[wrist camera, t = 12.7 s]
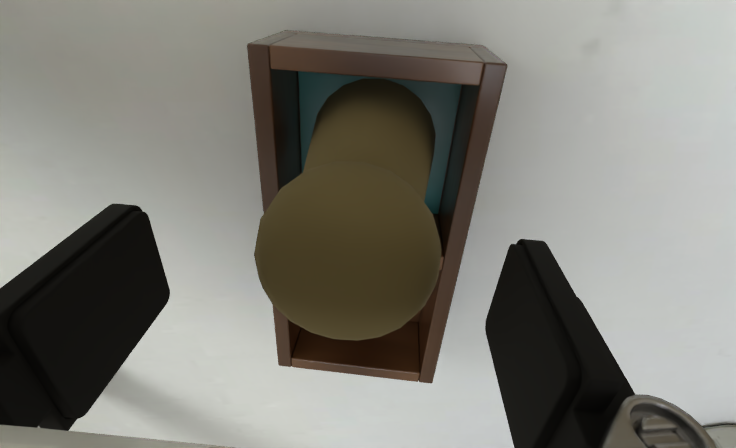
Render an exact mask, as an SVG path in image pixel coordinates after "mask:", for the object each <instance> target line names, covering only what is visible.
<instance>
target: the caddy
mask: <svg viewBox="0 0 736 448" xmlns="http://www.w3.org/2000/svg"><path fill="white" fill-rule="evenodd" d="M247 49H248V59H249V69H250V79H251V89H252V99H253V110H254V120H255V130H256V140H257V150H258V161H259V171H260V181H261V191H262V201H263V211H264V213H265V212H266V210H267V209H268V207H269V206H270V204H271V202H272V201H273V199H274V198H275V196H276V195H277V194H278V192H279V191H280V189H281V188H282V187H284V186H285V185H286V184H288V183H289V182H291V181H292V180H293V179H295V178H296V177H298V176H299V175H300V174H302V173H303V170H304V166H305V162H306V158H307V154H308V150H309V146H310V142H311V138H312V134H313V130H314V126H315V122H316V118H317V114H318V112H319V110H320V109H321V107H322V106H323V104H324V103H325V101H326V100H327V98H328V97H329V96H330V95H332V94H333V93H334V92H335V91H337V90H338V89H339V88H341V87H342V86H343V85H345V84H348V83H351V82H354V81H357V80H360V79H386V80H389V81H392V82H395V83H398V84H401V85H403V86H405V87H406V88H407V89H409V90H410V91H411V92H413V93H414V94H415V95H416V96H418V97H419V98H420V99H421V101H422V102H423V104H424V105H425V107H426V108H427V110H428V111H429V113H430V114H431V117H432V121H433V125H434V129H435V133H436V137H435V149H434V156H433V161H432V166H431V171H430V176H429V181H428V186H427V191H426V196H425V200H424V203H425V204H426V205H427V207H428V208H429V210H430V211H431V213H432V214H433V217H434V220H435V224H436V227H437V231H438V234H439V238H440V244H441V259H440V268H439V275H438V279H437V282H436V286H435V288H434V290H433V291H432V293H431V295H430V297H429V299H428V301H427V302H426V304H425V306H424V307H423V308H422V309H421V310H420V311H419V312H418V313H417V314H416V315H415V316H414V317H412V318H411V319H410V320H409V321H408V322H407V323H406V324H404V325H403V326H402V327H401V328H399V329H397V330H395V331H392V332H390V333H388V334H386V335H383V336H381V337H377V338H370V339H364V340H358V341H356V340H340V339H332V338H328V337H325V336H321V335H318V334H314V333H311V332H309V331H307V330H305V329H304V328H302V327H300V326H298V325H296V324H294V323H293V322H291V321H290V320H288V319H287V318H286V317H285V316H284V315H283V314H282V313H281V312H280V311H279V310H278V309H276V308H275V307H274V306H273V313H274V323H275V333H276V344H277V354H278V364H279V365H280V366H288V367H291V366H292V367H297V368H305V369H314V370H322V371H331V372H339V373H348V374H356V375H365V376H373V377H382V378H390V379H399V380H407V381H416V382H418V381H419V382H424V383H432V382H433V377H434V373H435V369H436V365H437V361H438V356H439V352H440V348H441V344H442V340H443V335H444V331H445V327H446V323H447V318H448V314H449V310H450V306H451V302H452V297H453V293H454V289H455V285H456V281H457V276H458V272H459V268H460V264H461V259H462V255H463V251H464V247H465V243H466V238H467V234H468V230H469V226H470V222H471V217H472V213H473V209H474V205H475V201H476V196H477V192H478V188H479V184H480V179H481V175H482V171H483V167H484V163H485V158H486V154H487V150H488V146H489V142H490V137H491V133H492V129H493V125H494V120H495V116H496V112H497V108H498V104H499V99H500V95H501V91H502V87H503V83H504V78H505V74H506V70H507V64H506V63H505V62H504V61H502V60H501V59H500V58H498V57H497V56H496V55H494V54H493V53H492V52H491V51H489V50H488V49H487V48H486V47H485V46H483V45H472V44H459V43H446V42H433V41H420V40H407V39H394V38H381V37H368V36H355V35H341V34H328V33H315V32H302V31H289V30H285V31H282V32H280V33H277V34H275V35H272V36H269V37H266V38H263V39H260V40H257V41H254V42H251V43H248V45H247Z"/></svg>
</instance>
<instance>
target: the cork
mask: <svg viewBox="0 0 736 448" xmlns="http://www.w3.org/2000/svg"><path fill="white" fill-rule="evenodd" d="M435 137H436V133H435V129H434V125H433V121H432V117H431V114H430V113H429V111H428V110H427V108H426V107H425V105H424V104H423V102H422V101H421V99H420V98H419V97H418V96H416V95H415V94H414V93H413V92H411V91H410V90H409V89H407V88H406V87H405V86H403V85H401V84H398V83H395V82H392V81H389V80H386V79H360V80H357V81H354V82H351V83H348V84H345V85H343V86H342V87H341V88H339V89H338V90H337V91H335V92H334V93H333V94H332V95H330V96H329V97H328V98H327V100H326V101H325V103H324V104H323V106H322V107H321V109H320V110H319V112H318V114H317V118H316V122H315V126H314V130H313V134H312V138H311V142H310V146H309V150H308V154H307V158H306V162H305V166H304V170H303V173H302V174H300V175H299V176H298V177H296V178H295V179H293V180H292V181H291V182H289V183H288V184H286V185H285V186H284V187H282V188H281V189H280V191H279V192H278V194H277V195H276V196H275V198H274V199H273V201H272V202H271V204H270V206H269V207H268V209H267V210H266V212H265V213H264V215H263V216H262V218H261V219H260V225H259V230H258V235H257V241H256V247H255V253H254V256H255V261H256V266H257V271H258V276H259V279H260V282H261V284H262V287H263V289H264V291H265V292H266V294H267V296H268V297H269V299H270V301H271V302H272V304H273V306H274V307H275V308H276V309H278V310H279V311H280V312H281V313H282V314H283V315H284V316H285V317H286V318H287V319H288V320H290V321H291V322H293V323H294V324H296V325H298V326H300V327H302V328H304V329H305V330H307V331H309V332H311V333H314V334H318V335H321V336H325V337H328V338H332V339H340V340H356V341H358V340H364V339H370V338H377V337H381V336H383V335H386V334H388V333H390V332H392V331H395V330H397V329H399V328H401V327H402V326H403V325H404V324H406V323H407V322H408V321H409V320H410V319H411V318H412V317H414V316H415V315H416V314H417V313H418V312H419V311H420V310H421V309H422V308H423V307H424V306H425V304H426V302H427V301H428V299H429V297H430V295H431V293H432V291H433V290H434V288H435V286H436V282H437V279H438V275H439V268H440V259H441V244H440V238H439V234H438V231H437V227H436V224H435V220H434V217H433V214H432V213H431V211H430V210H429V208H428V207H427V205H426V204H425V203H424V200H425V196H426V191H427V186H428V181H429V176H430V171H431V166H432V161H433V156H434V149H435Z"/></svg>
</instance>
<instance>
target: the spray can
mask: <svg viewBox="0 0 736 448" xmlns="http://www.w3.org/2000/svg"><path fill="white" fill-rule="evenodd" d="M704 429H705V430H706V432H707V433H708V434H709V435H710V437H711V438H712V439H713V441H714V443H715V445H716V447H717V448H736V425H721V426H714V427H705V428H704Z"/></svg>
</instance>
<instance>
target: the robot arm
mask: <svg viewBox="0 0 736 448" xmlns="http://www.w3.org/2000/svg"><path fill="white" fill-rule="evenodd" d="M169 296H170V290H169V286H168V283H167V279H166V276H165V272H164V269H163V265H162V262H161V258H160V255H159V252H158V248H157V245H156V241H155V238H154V234H153V231H152V227H151V224H150V221H149V217H148V215H147V214H146V213H145V212H142V210H141V208H140V207H138V206H136V205H124V204H111V205H109V206H108V207H107V208H105V209H104V210H103V211H101V212H100V213H99V214H97V215H96V216H95V217H93V218H92V219H91V220H89V221H88V222H87V223H86V224H84V225H83V226H82V227H80V228H79V229H78V230H76V231H75V232H74V233H72V234H71V235H70V236H68V237H67V238H66V239H65V240H63V241H62V242H61V243H59V244H58V245H57V246H55V247H54V248H53V249H51V250H50V251H49V252H47V253H46V254H45V255H44V256H42V257H41V258H40V259H38V260H37V261H36V262H34V263H33V264H32V265H30V266H29V267H28V268H26V269H25V270H24V271H23V272H21V273H20V274H19V275H17V276H16V277H15V278H13V279H12V280H11V281H9V282H8V283H7V284H5V285H4V286H3V287H2V288H0V448H233V447H224V446H214V445H204V444H195V443H185V442H175V441H165V440H156V439H146V438H135V437H125V436H115V435H105V434H95V433H85V432H74V431H68V430H69V429H70V428H71V426H72V425H73V424H74V422H75V421H76V420H77V418H81V417H83V416H84V415H85V414H86V413H87V412H88V411H89V409H90V408H91V407H92V405H93V404H94V402H95V401H96V400H97V398H98V397H99V396H100V394H101V393H102V392H103V390H104V389H105V387H106V386H107V385H108V383H109V382H110V381H111V379H112V378H113V376H114V375H115V374H116V372H117V371H118V370H119V368H120V367H121V365H122V364H123V363H124V361H125V360H126V359H127V357H128V356H129V354H130V353H131V352H132V350H133V349H134V348H135V346H136V345H137V343H138V342H139V341H140V339H141V338H142V337H143V335H144V334H145V333H146V331H147V330H148V328H149V327H150V326H151V324H152V323H153V322H154V320H155V319H156V317H157V316H158V315H159V313H160V312H161V311H162V309H163V308H164V306H165V305H166V304H167V302H168V299H169ZM485 329H486V335H487V339H488V343H489V347H490V351H491V355H492V359H493V363H494V367H495V371H496V375H497V379H498V383H499V388H500V392H501V396H502V400H503V404H504V408H505V412H506V416H507V420H508V424H509V428H510V432H511V436H512V440H513V444H514V448H717V447H716V445H715V443H714V441H713V439H712V438H711V437H710V435H709V434H708V433H707V432H706V430H705V429H704V428H703V427H702V426H701V425H700V424H699V423H698V422H697V421H696V420H695V419H694V418H693V417H691V416H690V415H689V414H687V413H686V412H685V411H683V410H682V409H680V408H679V407H677V406H676V405H674V404H671V403H669V402H667V401H665V400H663V399H661V398H657V397H653V396H650V395H635V393H634V391H633V390H632V388H631V386H630V384H629V383H628V381H627V379H626V378H625V376H624V374H623V372H622V371H621V369H620V367H619V365H618V364H617V362H616V360H615V358H614V357H613V355H612V353H611V351H610V350H609V348H608V346H607V345H606V343H605V341H604V339H603V338H602V336H601V334H600V332H599V331H598V329H597V327H596V325H595V324H594V322H593V320H592V319H591V317H590V315H589V313H588V312H587V310H586V308H585V306H584V305H583V303H582V302H581V300H580V299H579V298H578V297H576V295H575V293H574V291H573V290H572V288H571V286H570V284H569V283H568V281H567V279H566V277H565V275H564V274H563V272H562V270H561V268H560V267H559V265H558V263H557V261H556V260H555V258H554V256H553V254H552V253H551V251H550V249H549V247H548V246H547V244H546V243H545V242H544V241H537V240H525V239H520V240H519V241H518V242H517V244H511V245H510V247H509V249H508V252H507V255H506V258H505V262H504V265H503V268H502V271H501V274H500V277H499V281H498V284H497V287H496V290H495V293H494V296H493V300H492V303H491V306H490V309H489V312H488V315H487V319H486V326H485ZM38 426H39V427H40V428H37V427H38Z"/></svg>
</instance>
